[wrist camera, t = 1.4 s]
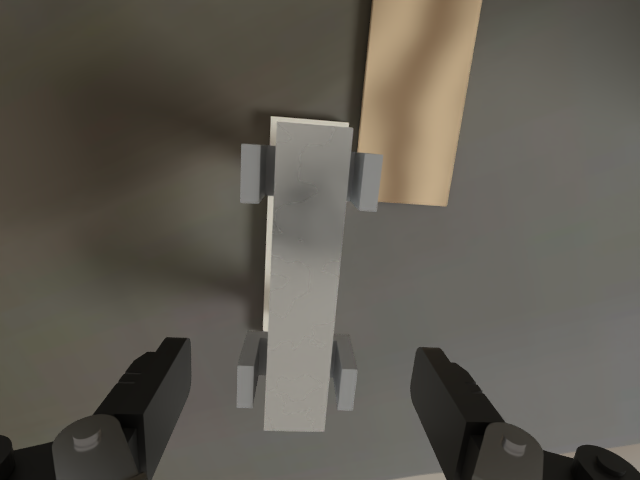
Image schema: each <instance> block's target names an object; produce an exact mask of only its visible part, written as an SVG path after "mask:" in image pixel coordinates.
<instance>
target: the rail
mask: <svg viewBox="0 0 640 480" xmlns="http://www.w3.org/2000/svg"><path fill="white" fill-rule="evenodd" d="M352 138H353V128H350V127H338V126H326V125H314V124H302V123H290V122H278V121H277V131H276V154H275V178H274V202H273V226H272V250H271V274H270V298H269V322H268V346H267V369H266V393H265V417H264V431H310V432H324V429H325V418H326V408H327V397H328V387H329V377H330V366H331V356H332V345H333V335H334V325H335V314H336V304H337V294H338V283H339V273H340V262H341V252H342V242H343V231H344V221H345V210H346V200H347V190H348V179H349V169H350V159H351V148H352Z"/></svg>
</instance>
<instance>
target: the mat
mask: <svg viewBox="0 0 640 480" xmlns="http://www.w3.org/2000/svg"><path fill="white" fill-rule="evenodd" d="M481 4H482V0H372V7H371V17H370V27H369V37H368V47H367V57H366V67H365V77H364V87H363V97H362V107H361V117H360V127H359V137H358V147H357V152H361V153H372V154H381V155H383V162H382V170H381V179H380V187H379V195H378V202H391V203H405V204H420V205H435V206H447V202H448V196H449V190H450V185H451V179H452V173H453V167H454V161H455V155H456V150H457V144H458V138H459V132H460V126H461V121H462V115H463V109H464V103H465V97H466V91H467V86H468V80H469V74H470V68H471V62H472V57H473V51H474V45H475V39H476V33H477V28H478V22H479V16H480V10H481Z"/></svg>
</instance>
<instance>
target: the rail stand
mask: <svg viewBox="0 0 640 480" xmlns="http://www.w3.org/2000/svg"><path fill="white" fill-rule="evenodd" d="M277 121H278V122H290V123H302V124H314V125H326V126H338V127H349V123H346V122H334V121H323V120H311V119H299V118H287V117H275V116H271V128H270V145H259V144H241V192H240V203H253V204H259V203H260V202H261V200H262V199H263V197H264V196H265V195H266V196H268V208H267V234H266V261H265V288H264V314H263V331H247V334H246V338H245V341H244V345H243V348H242V352H241V355H240V359H239V362H238V368H237V408H253V402H254V397H255V392H256V386H257V381H258V375H266V369H267V346H268V322H269V298H270V274H271V250H272V226H273V202H274V178H275V154H276V131H277ZM382 162H383V155H381V154H372V153H361V152H351V159H350V169H349V179H348V190H347V200H346V201H351V202H352V203H353V204H354V206H355V207H356V208H357V209H358V210H359V211H373V212H377V204H378V195H379V187H380V179H381V170H382ZM357 371H358V369H357V365H356V361H355V357H354V353H353V349H352V345H351V341H350V338H349V335H341V334H334V335H333V345H332V356H331V366H330V377H332V378H333V380H334V387H335V394H336V401H337V409H338V410H353V404H354V396H355V387H356V379H357Z"/></svg>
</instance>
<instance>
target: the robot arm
mask: <svg viewBox="0 0 640 480" xmlns="http://www.w3.org/2000/svg"><path fill="white" fill-rule="evenodd" d="M190 386H191V342H190V339H189V338H172V337H167V338H165V339H164V341H163V342H162V343H161V345H160V346H159V348H158V349H157V351H156V352H146V353H145V354H143V355H142V356H140V357H139V358H137V359H136V360H134V361H133V363H132V364H131V365H130V367H129V368H128V369H127V371H126V372H125V374H123V376H122V377H121V378H120V380H119V382H118V383H117V384H116V385H115V386H114V388H113V389H112V390H111V392H110V393H109V394H108V395H107V397H106V398H105V399H104V401H103V402H102V403H101V405H100V406H99V407H98V409H97V410H96V411H95V413H94V414H93V415H92V416H88V417H85V418H82V419H80V420H77V421H75V422H73V423H72V424H70V425H69V426H67V427H66V428H64V429H63V430H62V431H61V432H60V433H59V434H58V435H57V437H56V438H55V440H54V441H53V442H50V443H46V444H41V445H37V446H32V447H28V448H23V449H19V450H14V451H13V448H12V442H11V440H10V439H9V438H8V437H5V436H2V435H0V480H151V479H152V477H153V475H154V473H155V470H156V468H157V466H158V464H159V461H160V459H161V457H162V454H163V452H164V450H165V448H166V445H167V443H168V441H169V438H170V436H171V434H172V432H173V429H174V427H175V425H176V423H177V420H178V418H179V416H180V413H181V411H182V409H183V407H184V404H185V402H186V400H187V397H188V395H189V391H190ZM410 392H411V399H412V402H413V405H414V407H415V409H416V412H417V414H418V416H419V418H420V421H421V423H422V425H423V428H424V430H425V432H426V434H427V437H428V439H429V441H430V443H431V446H432V448H433V450H434V452H435V455H436V457H437V459H438V461H439V464H440V466H441V468H442V470H443V473H444V475H445V477H446V479H447V480H640V473H639V472H638V471H637V470H636V469H635V468H634V467H633V466H632V465H631V464H630V463H628V462H627V461H626V460H624V459H623V458H621V457H620V456H618V455H616V454H615V453H613V452H611V451H609V450H606V449H604V448H601V447H598V446H594V445H582V446H580V447H578V448H577V450H576V453H575V456H574V459H573V458H569V457H566V456H562V455H558V454H555V453H551V452H547V451H544V450H542V448H541V446H540V444H539V443H538V442H537V441H536V440H535V438H534V437H532V436H531V435H530V434H529V433H527V432H526V431H524V430H523V429H521V428H519V427H517V426H514V425H512V424H508V423H505V421H504V420H503V419H502V417H501V416H500V414H499V413H498V412H497V410H496V409H495V408H494V406H493V405H492V404H491V402H490V401H489V400H488V398H487V397H486V396H485V394H483V393H482V390H481V389H480V388H479V386H478V385H476V382H475V381H474V380H473V378H472V377H471V376H470V374H469V373H468V372H467V371H466V370H464V369H463V368H462V367H460V366H459V365H458V364H456V363H451V362H450V361H449V359H448V358H447V357H446V355H445V354H444V352H443V351H442V350H441V349H440V348H429V347H419V348H418V349H417V351H416V355H415V361H414V367H413V373H412V379H411V385H410Z"/></svg>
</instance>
